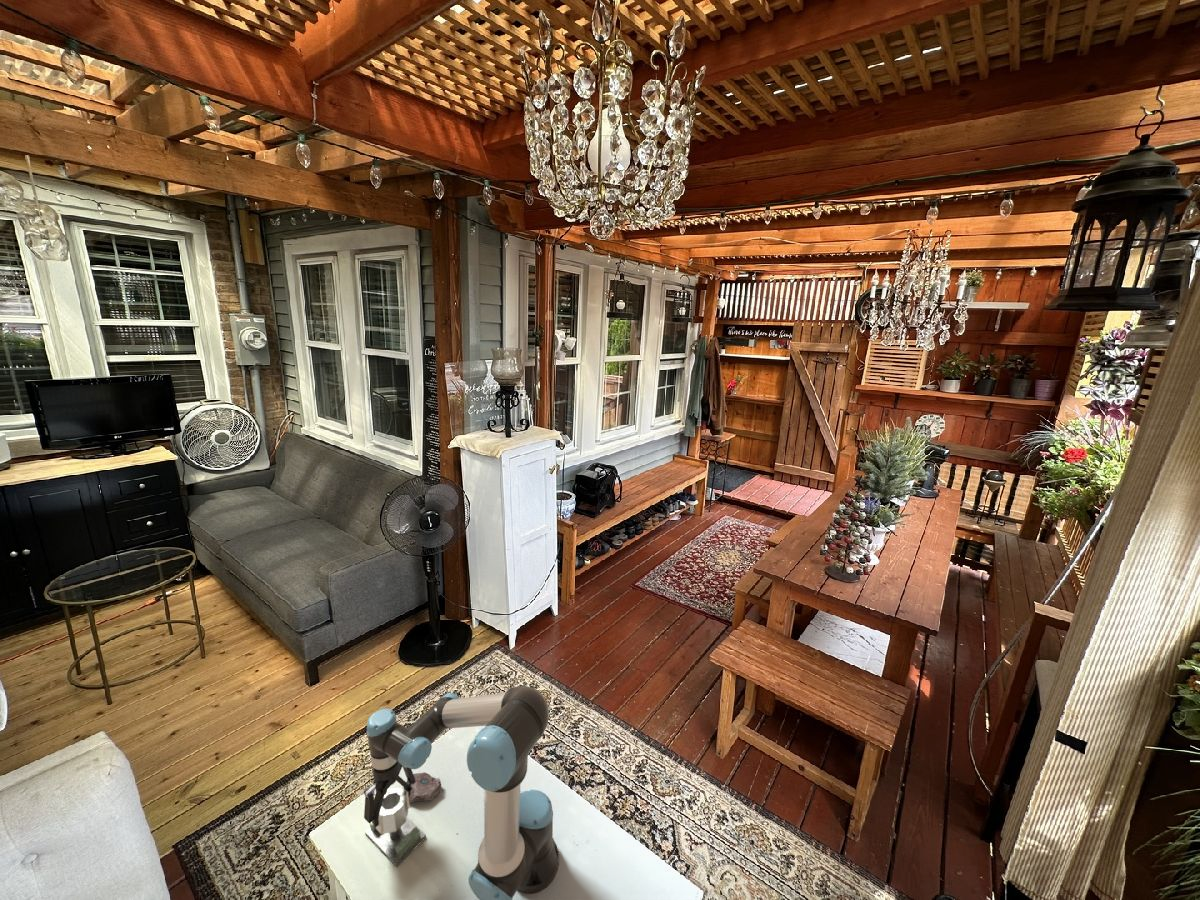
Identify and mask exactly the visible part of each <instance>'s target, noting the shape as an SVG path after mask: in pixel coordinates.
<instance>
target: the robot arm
mask: <svg viewBox="0 0 1200 900" xmlns="http://www.w3.org/2000/svg"><path fill="white" fill-rule="evenodd" d="M549 717H550V709H549V706H548V703H547V701H546V698H545V696H544V695H543V694H542V692H540V691H539V690H537V688H534V687H532V686H528V685H526V686H525V685H521V686H513V687H510V688H508V689H507V690H505V692H498V693H491V694H484V695H477V696H467V697H462V698H461V697H460V696H458V695H457V694H456V693H453V692H447V693H445V694H444V695H443V696H442V697H440V698H439V699H437V701H436V702H435V703H433V705H432V706H431V707H429V709H427V710H426V712H424V713H423V714H422V715H421V716H420V717H419V718H417V720H416V721H415V722H413V723H412V725H410V726H409V727H406V726H405V725H402V724H401V723H399V722H398V721H397V716H396V713H395V712H394V710H392V709H390V708H382V709H378V710H376V711H375V712H374V713H372V714H371V715H370V716H369V718H368V719H367V722H366V736H367V741H368V742H367V743H368V747H369V752H370V756H369V757H370V762H371V770H372V776H373V783H372V785H371V786H370V788H369V789H368V788H365V789H364V790H363V794H364V796H365V798H364V813H363V818H364V820H366V822H367V823H369V824H370V823H371V822H372V824H373V825H374V826H375V827H376V829H377V830H378V831H379V832H380V833H381V834H382V833H383V832H384V830H383V823H382V816H381V815H380V810H381V806H382V803H383V799H384V795H386V793H387V790H388V789H390V787H391V786H392V785H394V784H395V783H396V782H397V783H399V784H400V785H401V786H402V787H400V788H401V789H402V790H403V791H404V792H405V793H406V795H407V804H408V810H409V809H410V808H411V807H410V803H409V796H410V794H411V793H410V791H411V790H412V787H411V785H412V784H414V783H415V781H416V780H415V778H414V775H413V774H414V772H413V770H417V769H419V768H421V767H423V765H425V764H426V761H427V759H428V758H429V757H430V755H431V752H432V746H433V745H432V743H434V741H436V739H437V738H438V737H439V736H441V734H442V733H443V732H444V731H445V730H447V729H458V728H459V729H460V728H470V727H471V728H472V727H473V728H474V727H483V728H481V729H480V730H479V732H478V733H477V734H476V736H475V737H474V739H473V740H472V741H471V743H470V744H469V746H468V749H467V752H466V765H467V769H468V771H469V772H471V778H472V779H473V780H474V782H475V784H477V785H478V786H479V787H480V788H481V789H483V795H484V796H483V797H484V799H483V802H484V803H483V806H484V807H483V808H484V809H483V811H484V812H483V816H484V819H483V820H484V821H483V822H484V823H483V825H484V826H483V827H484V828H483V830H484V831H483V836H484V837H483V838H482V840H481V842H480V844H479V847H478V853H477V864H476V866H475V867H474V868H473V869H472V870H471V872H470V875H469V877H468V884H469V885H468V886H469V887H470V890H471V891H472V893H473V894H474V895H475V898H477V900H513V897H514V896H515V894H517V893H516V892H517V891H519V892H521V893H522V894H523V893H524V894H530V895H531V894H536V893H538V892H542V891H543V890H545V889H546V888H547V887H548V886H549V885H551V883H552V882H553V881H554V880H555V877H556V875H557V874H558V873H557V872H558V869H559V865H560V864H559V862H560V859H559V855H560V853H559V850H558V845H557V844H556V841H555V839H554V837H553V832H554V831H553V827H554V825H553V824H554V822H553V820H554V811H553V804H552V801H551V798H549V796H548V795H547V794H546V793H545V792H543V791H541V790H538V789H530V790H524V791H522V792H521V784H522V783H523V781H524V780H525V779H526V775H527V773H528V763H529V762H528V757H529V754H530V752H531V751H532V749H533V748H534V747H535V746H536V744H537V743H538V741H539V740H540V739H541V738H542V736H543V735H544V733H545V731H546V730H547V729H546V728H547V727H548V722H549V719H550V718H549ZM402 769H403V772H404V774H405V776H406V777H405V778H406V781H405V780H404V779H403V778H402V777H401V776H400V774H401V771H402Z"/></svg>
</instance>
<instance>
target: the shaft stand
mask: <svg viewBox="0 0 1200 900" xmlns="http://www.w3.org/2000/svg"><path fill="white" fill-rule="evenodd" d="M364 834H365V835H366V836H367V838H368V839H370V841H371V842H372V843H373V844H374V846H376V847H377V848H378V849H379V850H380V851H381V853H383V854H384V856H386V857H387V859H388V860H389V861H390V862H391V863H392V864H393V865H394V866H395V867H396V868H398V867H399V865H401V864H402V863H403V862H404V860H406V858H407V857H408V856H410V854H411V853H413V851H414V850H415V849H416V848H417V847H418V846H419V845H420V844H421V843H422V842H423V841H424V840H425V839H426V838H427V834H426V833H425V832H424V831H423V830H422V829H421V828H420V827H418V825H416V824H415V823H414V822H413V820H411V819H410V818H409V817H408V816H407V820H406V822H405V823H404V824H403V825H402V826H401V827H400V828H399V829H398V830H397V831H394V832H389V833H384V832H383V833H382V834H381V833H380V832H379V831H378V830H377V829H376V827H375V826H374V825H373V824H372V822H371V823H369V828H368V829H367V830H365V833H364ZM425 837H426V838H425ZM424 838H425V839H424ZM423 839H424V840H423ZM422 840H423V841H422ZM421 841H422V842H421ZM420 842H421V843H420ZM419 843H420V844H419ZM418 844H419V845H418ZM417 845H418V846H417ZM416 846H417V847H416ZM415 847H416V848H415ZM414 848H415V849H414ZM413 849H414V850H413ZM412 850H413V851H412Z"/></svg>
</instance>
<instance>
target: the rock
mask: <svg viewBox="0 0 1200 900" xmlns="http://www.w3.org/2000/svg"><path fill="white" fill-rule="evenodd" d="M413 775H414V778H415V780H416V781H415V783H414V784H412V785H411V787H412V790H411V791H410V793H411V794H410V796H409V804H410V803H413V802H423V801H432V800H433V799H434V798H435V796H436V795H438V794H439V792H440V791H441V787H442V782H441V780H440V779H439V778H437V777H434V776H432V775H431V774H430V773H428V772H424V771H423V772H418V773H413Z"/></svg>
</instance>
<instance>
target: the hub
mask: <svg viewBox="0 0 1200 900" xmlns="http://www.w3.org/2000/svg"><path fill="white" fill-rule="evenodd" d="M401 788H402V787H396V788H395V787H394V788H388V789H387V793H386V795H384V799H383V803H382V806H381V810H380V815H381V816H382V823H383V830H384V833H389V832H394V831H397V830H398V829H399V828H400V827H401V826H402V825H403V824H404V823H405V822H406V820H407V817H408V814H409V809H408V804H407V795H406V793H405V792H404V791H403V790H402V789H401Z"/></svg>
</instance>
